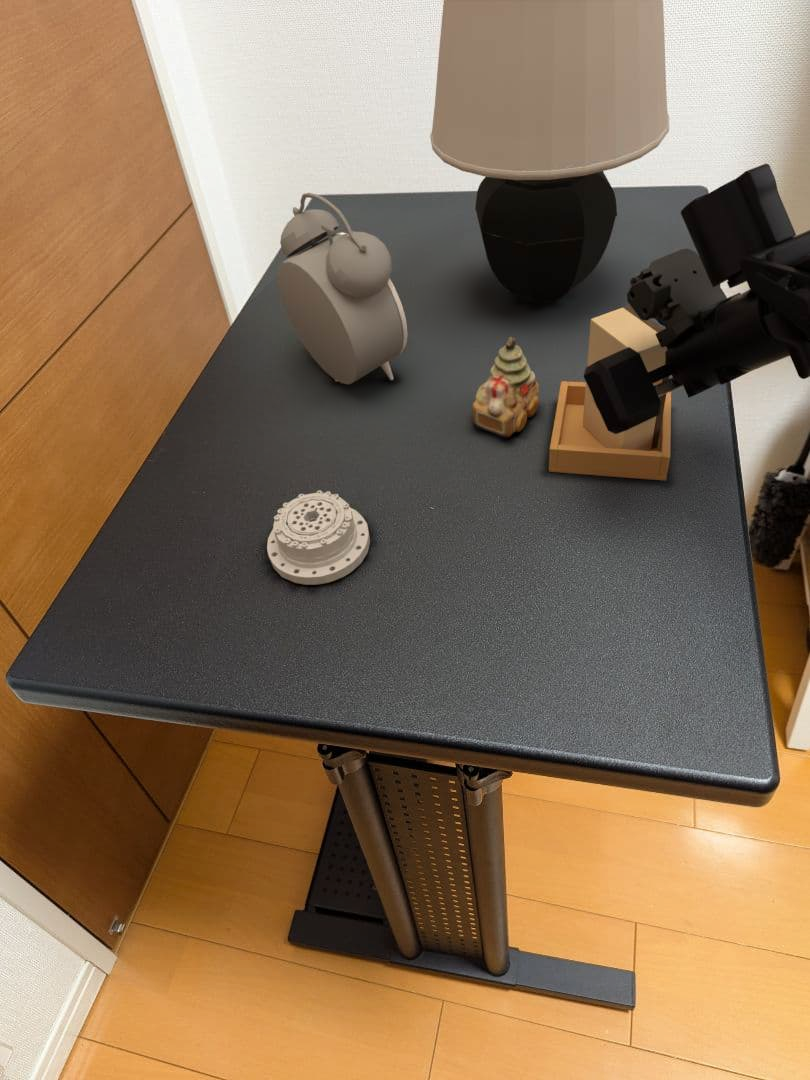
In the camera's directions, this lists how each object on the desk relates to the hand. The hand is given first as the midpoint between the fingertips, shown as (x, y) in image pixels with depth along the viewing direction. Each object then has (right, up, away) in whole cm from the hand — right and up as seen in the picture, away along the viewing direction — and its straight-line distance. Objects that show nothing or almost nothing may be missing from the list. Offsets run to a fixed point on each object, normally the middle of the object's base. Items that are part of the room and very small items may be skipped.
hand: (634, 385), depth 74 cm
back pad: (0, -4, +7) cm, 8 cm away
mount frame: (0, -4, +8) cm, 9 cm away
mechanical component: (-30, -16, +1) cm, 34 cm away
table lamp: (-4, +18, +30) cm, 35 cm away
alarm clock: (-29, +6, +21) cm, 36 cm away
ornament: (-11, -1, +12) cm, 16 cm away
